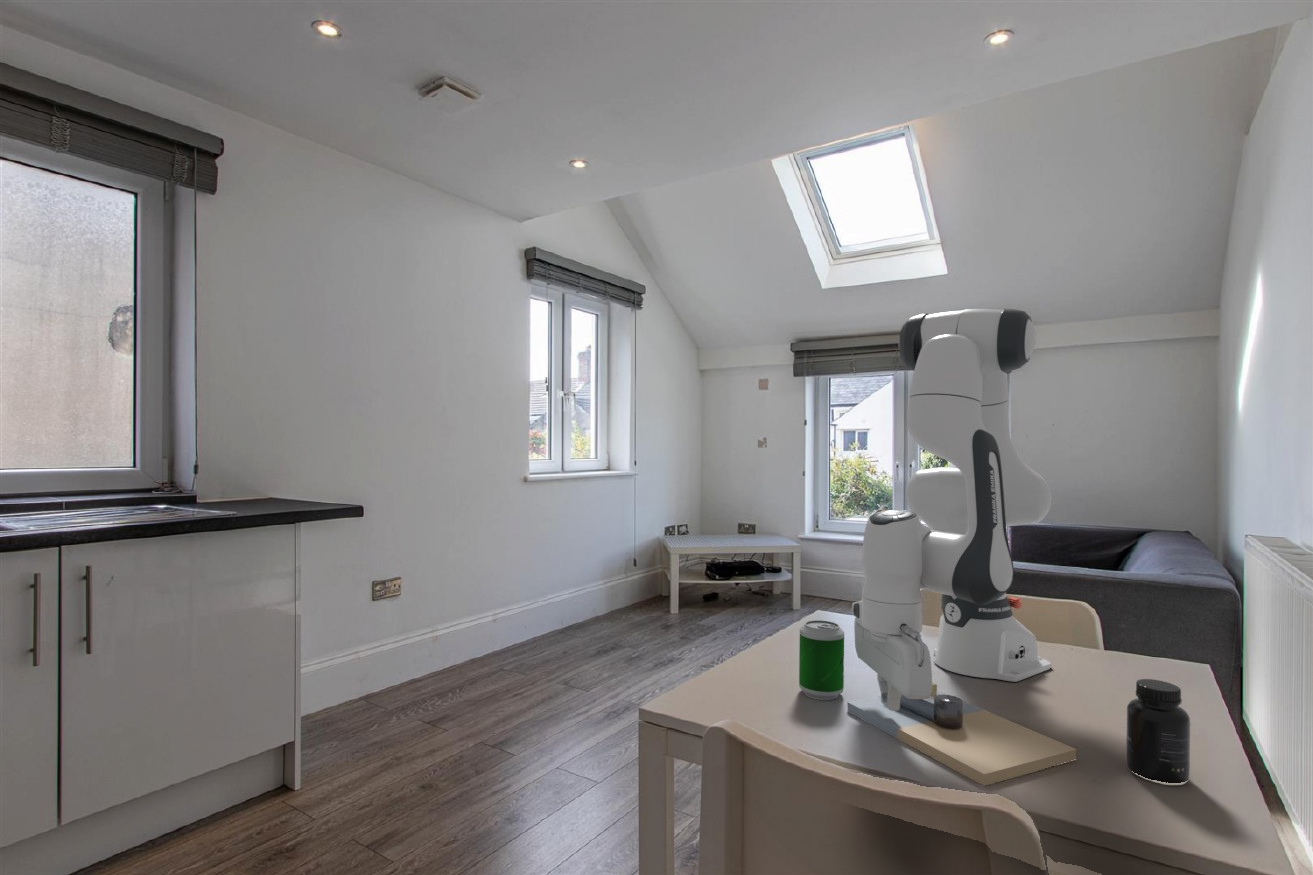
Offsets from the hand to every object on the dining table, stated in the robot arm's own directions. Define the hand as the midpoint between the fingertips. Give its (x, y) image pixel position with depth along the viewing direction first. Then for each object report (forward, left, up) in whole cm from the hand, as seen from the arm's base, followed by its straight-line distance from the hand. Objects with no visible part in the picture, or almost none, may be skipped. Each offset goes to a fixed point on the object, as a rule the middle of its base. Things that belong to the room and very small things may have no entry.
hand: (890, 706), depth 105 cm
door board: (-6, +5, -3) cm, 9 cm away
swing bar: (-6, +1, -1) cm, 6 cm away
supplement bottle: (-22, +25, -3) cm, 34 cm away
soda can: (+1, -16, -3) cm, 16 cm away
